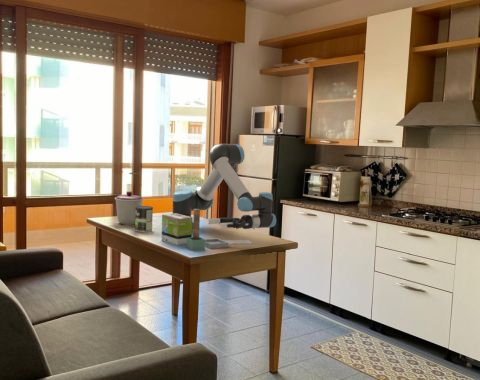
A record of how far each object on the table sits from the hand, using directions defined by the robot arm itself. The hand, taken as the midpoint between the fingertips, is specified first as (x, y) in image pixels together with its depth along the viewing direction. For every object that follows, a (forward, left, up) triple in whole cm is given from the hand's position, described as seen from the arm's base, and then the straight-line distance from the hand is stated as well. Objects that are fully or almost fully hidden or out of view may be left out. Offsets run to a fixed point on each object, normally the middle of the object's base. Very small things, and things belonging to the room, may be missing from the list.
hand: (214, 223), depth 243 cm
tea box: (-18, -14, -13) cm, 26 cm away
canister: (-79, -22, -13) cm, 83 cm away
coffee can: (-55, -20, -13) cm, 60 cm away
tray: (-3, +1, -13) cm, 13 cm away
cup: (0, -11, -13) cm, 16 cm away
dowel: (0, -11, -12) cm, 16 cm away
